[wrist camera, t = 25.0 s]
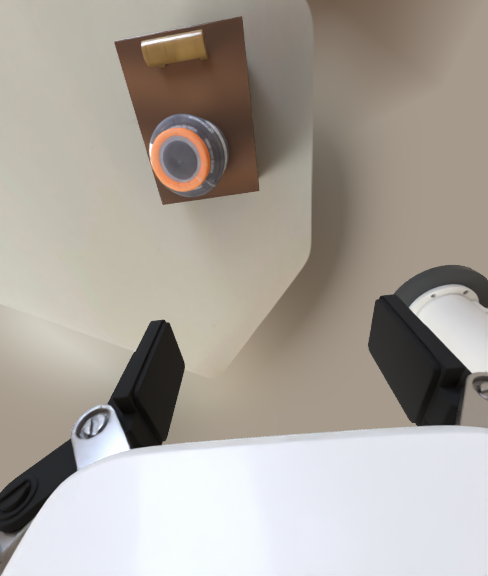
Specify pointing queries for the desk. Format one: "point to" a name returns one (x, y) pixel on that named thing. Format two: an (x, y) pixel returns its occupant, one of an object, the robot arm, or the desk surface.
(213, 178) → the pill bottle
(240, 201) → the desk surface
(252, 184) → the lid
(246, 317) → the desk surface
